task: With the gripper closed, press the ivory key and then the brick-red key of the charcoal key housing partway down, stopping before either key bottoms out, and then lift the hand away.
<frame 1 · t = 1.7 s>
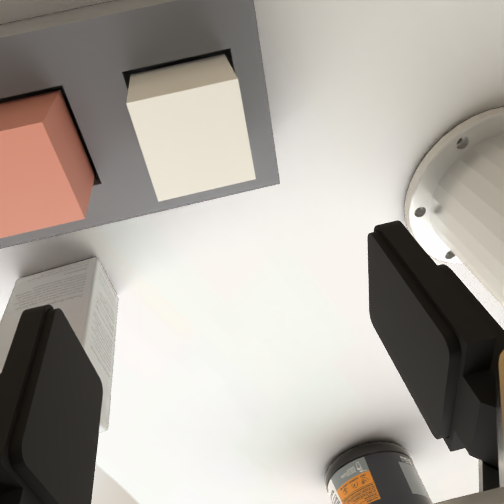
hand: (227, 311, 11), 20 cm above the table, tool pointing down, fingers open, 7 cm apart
key housing: (117, 100, 27), on the table
ivory key: (192, 125, 22), point 7 cm above the table, slide at 0.0 cm
skincare box: (71, 283, 34), on the table
supplement container: (364, 462, 56), on the table
brick key: (23, 163, 22), point 7 cm above the table, slide at 0.0 cm
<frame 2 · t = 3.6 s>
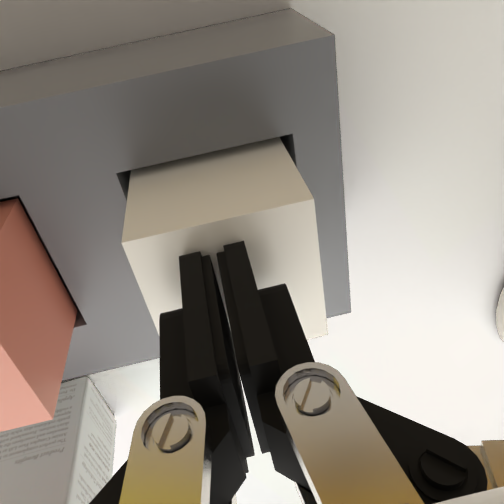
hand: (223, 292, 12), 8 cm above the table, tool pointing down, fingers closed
key housing: (113, 186, 19), on the table
ivory key: (227, 246, 14), point 6 cm above the table, slide at 0.7 cm, touching gripper
skincare box: (54, 405, 26), on the table
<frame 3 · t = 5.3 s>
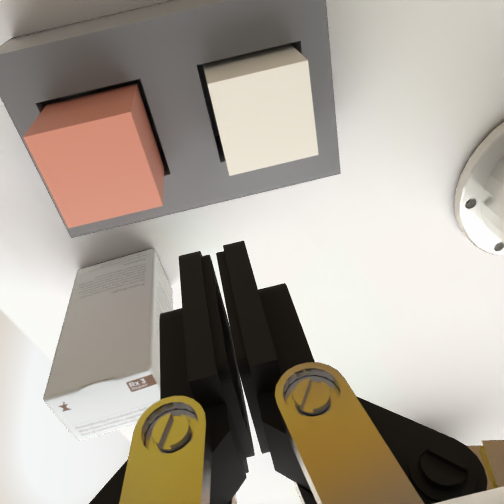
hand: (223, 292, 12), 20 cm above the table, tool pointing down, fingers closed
key housing: (181, 95, 28), on the table
ivory key: (259, 107, 24), point 5 cm above the table, slide at 1.5 cm
skincare box: (127, 274, 35), on the table
brick key: (103, 154, 23), point 7 cm above the table, slide at 0.0 cm
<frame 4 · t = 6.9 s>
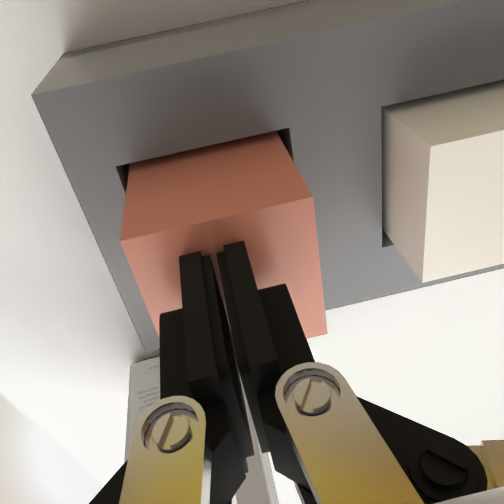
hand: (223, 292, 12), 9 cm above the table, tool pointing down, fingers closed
key housing: (302, 138, 19), on the table
ivory key: (462, 170, 15), point 5 cm above the table, slide at 1.5 cm
skincare box: (194, 365, 26), on the table
brick key: (225, 245, 14), point 6 cm above the table, slide at 0.3 cm, touching gripper
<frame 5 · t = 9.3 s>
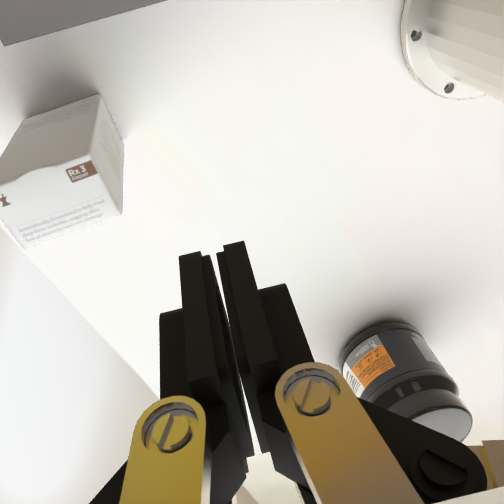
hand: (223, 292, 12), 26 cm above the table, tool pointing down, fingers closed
skincare box: (76, 127, 35), on the table
supplement container: (377, 349, 56), on the table
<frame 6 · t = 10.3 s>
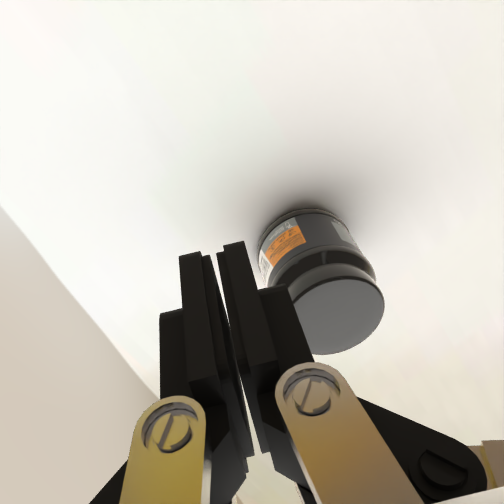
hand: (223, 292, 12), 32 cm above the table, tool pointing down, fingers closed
supplement container: (300, 244, 52), on the table
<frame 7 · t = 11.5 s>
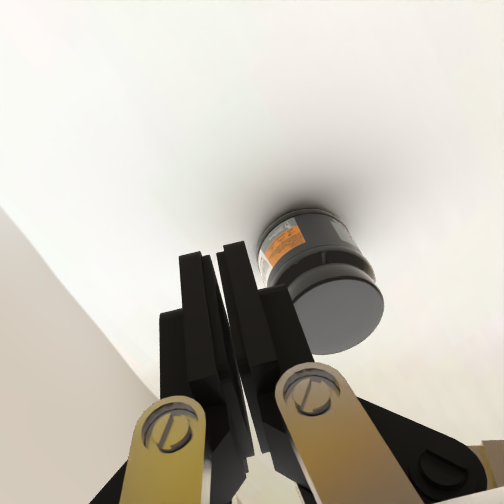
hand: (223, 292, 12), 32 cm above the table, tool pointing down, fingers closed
supplement container: (300, 244, 52), on the table
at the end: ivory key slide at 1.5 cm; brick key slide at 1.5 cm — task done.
